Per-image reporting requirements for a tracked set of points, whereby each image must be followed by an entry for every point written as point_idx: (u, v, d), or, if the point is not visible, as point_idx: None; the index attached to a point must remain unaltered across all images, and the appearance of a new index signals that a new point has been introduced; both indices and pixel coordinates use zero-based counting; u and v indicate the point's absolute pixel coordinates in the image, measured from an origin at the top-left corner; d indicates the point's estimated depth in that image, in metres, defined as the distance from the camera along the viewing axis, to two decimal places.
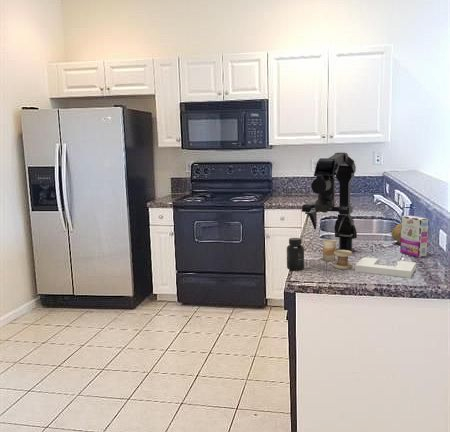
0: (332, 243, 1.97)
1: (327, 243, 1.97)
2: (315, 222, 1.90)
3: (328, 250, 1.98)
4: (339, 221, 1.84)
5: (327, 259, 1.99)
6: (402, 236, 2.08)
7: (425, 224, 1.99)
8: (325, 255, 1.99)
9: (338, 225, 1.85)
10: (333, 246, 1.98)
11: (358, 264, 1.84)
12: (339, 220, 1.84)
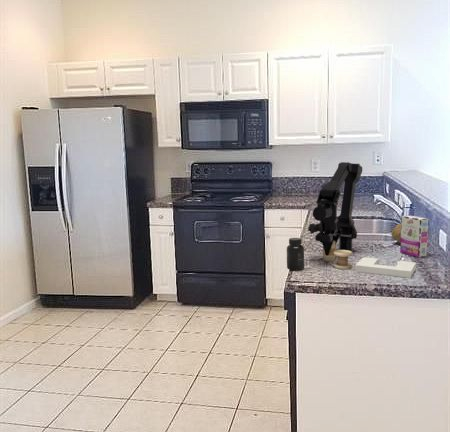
0: None
1: None
2: None
3: None
4: None
5: (327, 259, 1.99)
6: (402, 236, 2.08)
7: (425, 224, 1.99)
8: (325, 255, 1.99)
9: None
10: (333, 246, 1.98)
11: (358, 264, 1.84)
12: None
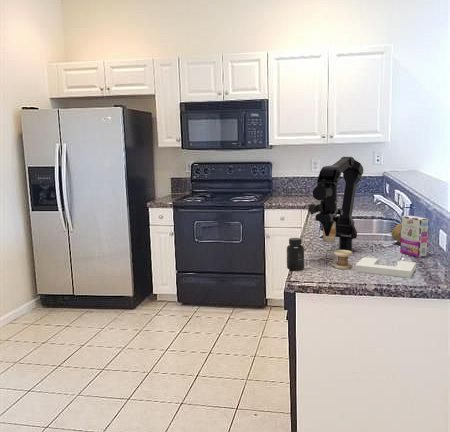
0: None
1: None
2: None
3: None
4: None
5: (327, 240, 1.97)
6: (402, 236, 2.08)
7: (425, 224, 1.99)
8: (325, 236, 1.97)
9: None
10: (333, 227, 1.96)
11: (358, 264, 1.84)
12: None
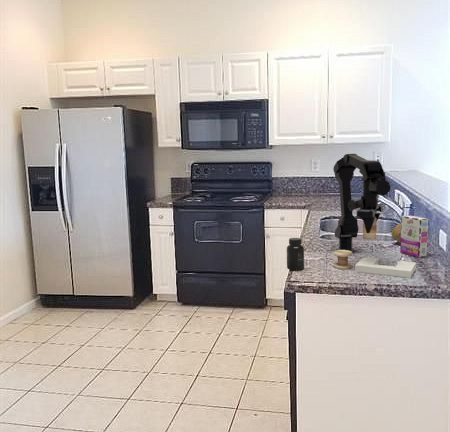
0: None
1: None
2: None
3: None
4: None
5: (368, 237, 1.89)
6: (402, 236, 2.08)
7: (425, 224, 1.99)
8: (366, 233, 1.90)
9: None
10: (374, 223, 1.89)
11: (358, 264, 1.84)
12: None
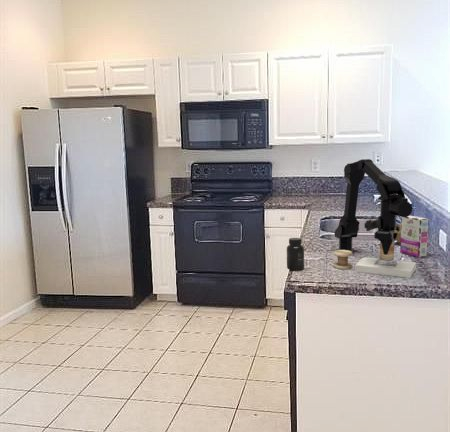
0: None
1: None
2: None
3: None
4: None
5: (385, 258, 1.83)
6: (402, 236, 2.08)
7: (425, 224, 1.99)
8: (383, 254, 1.83)
9: None
10: (392, 244, 1.82)
11: (358, 264, 1.84)
12: None
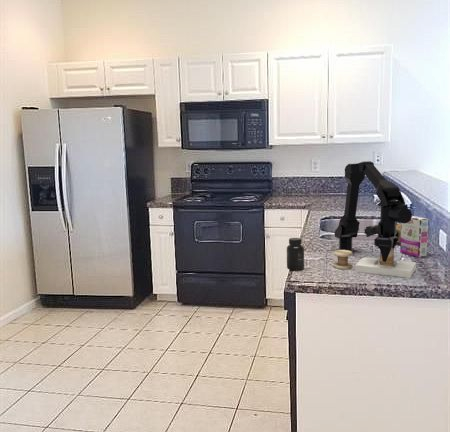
0: (391, 251, 1.82)
1: None
2: None
3: (387, 258, 1.83)
4: None
5: None
6: (402, 236, 2.08)
7: (425, 224, 1.99)
8: (383, 264, 1.84)
9: None
10: (392, 254, 1.83)
11: (358, 264, 1.84)
12: None
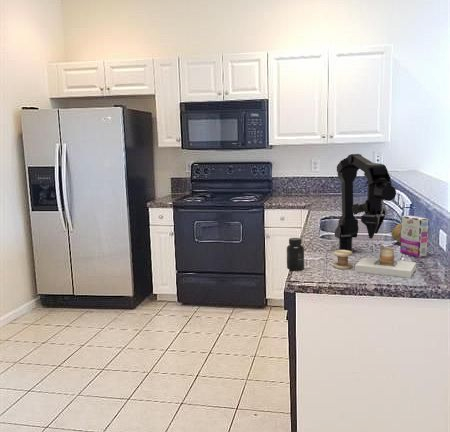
0: (391, 251, 1.82)
1: (385, 251, 1.82)
2: None
3: (387, 258, 1.83)
4: None
5: None
6: (402, 236, 2.08)
7: (425, 224, 1.99)
8: (383, 264, 1.84)
9: None
10: (392, 254, 1.83)
11: (358, 264, 1.84)
12: None
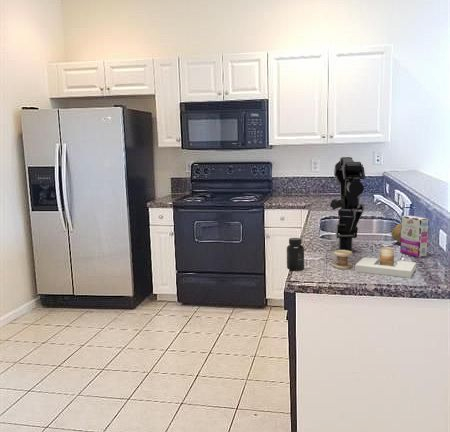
0: (391, 251, 1.82)
1: (385, 251, 1.82)
2: (354, 221, 2.02)
3: (387, 258, 1.83)
4: None
5: None
6: (402, 236, 2.08)
7: (425, 224, 1.99)
8: (383, 264, 1.84)
9: None
10: (392, 254, 1.83)
11: (358, 264, 1.84)
12: None
